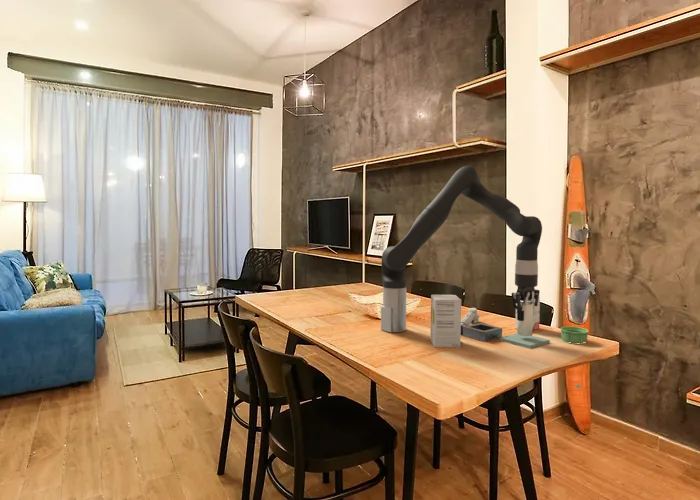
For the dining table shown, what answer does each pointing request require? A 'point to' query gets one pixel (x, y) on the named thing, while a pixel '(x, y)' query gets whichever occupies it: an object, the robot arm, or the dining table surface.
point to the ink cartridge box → (535, 316)
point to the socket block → (482, 332)
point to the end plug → (526, 321)
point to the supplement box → (445, 321)
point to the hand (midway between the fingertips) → (525, 319)
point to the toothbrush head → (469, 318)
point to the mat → (524, 340)
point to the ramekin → (574, 334)
